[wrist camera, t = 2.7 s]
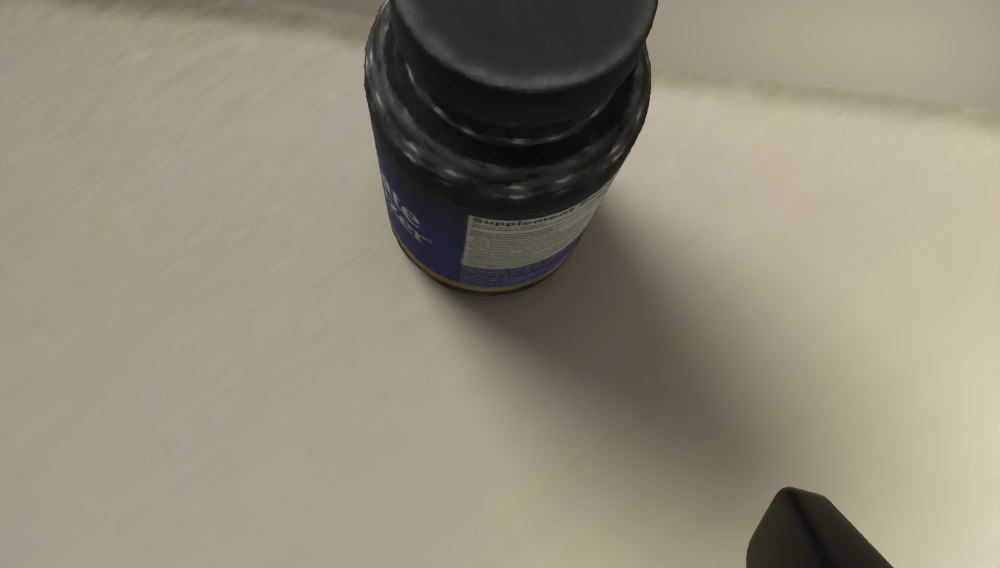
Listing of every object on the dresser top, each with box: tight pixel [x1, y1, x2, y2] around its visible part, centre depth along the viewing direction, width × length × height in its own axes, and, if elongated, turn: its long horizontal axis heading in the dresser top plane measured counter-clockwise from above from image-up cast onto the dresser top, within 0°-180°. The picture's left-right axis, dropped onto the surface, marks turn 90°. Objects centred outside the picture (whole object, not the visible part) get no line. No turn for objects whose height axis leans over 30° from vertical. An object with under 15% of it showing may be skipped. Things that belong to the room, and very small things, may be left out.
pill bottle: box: [364, 0, 658, 296], centre depth 18 cm, size 6×6×11 cm
